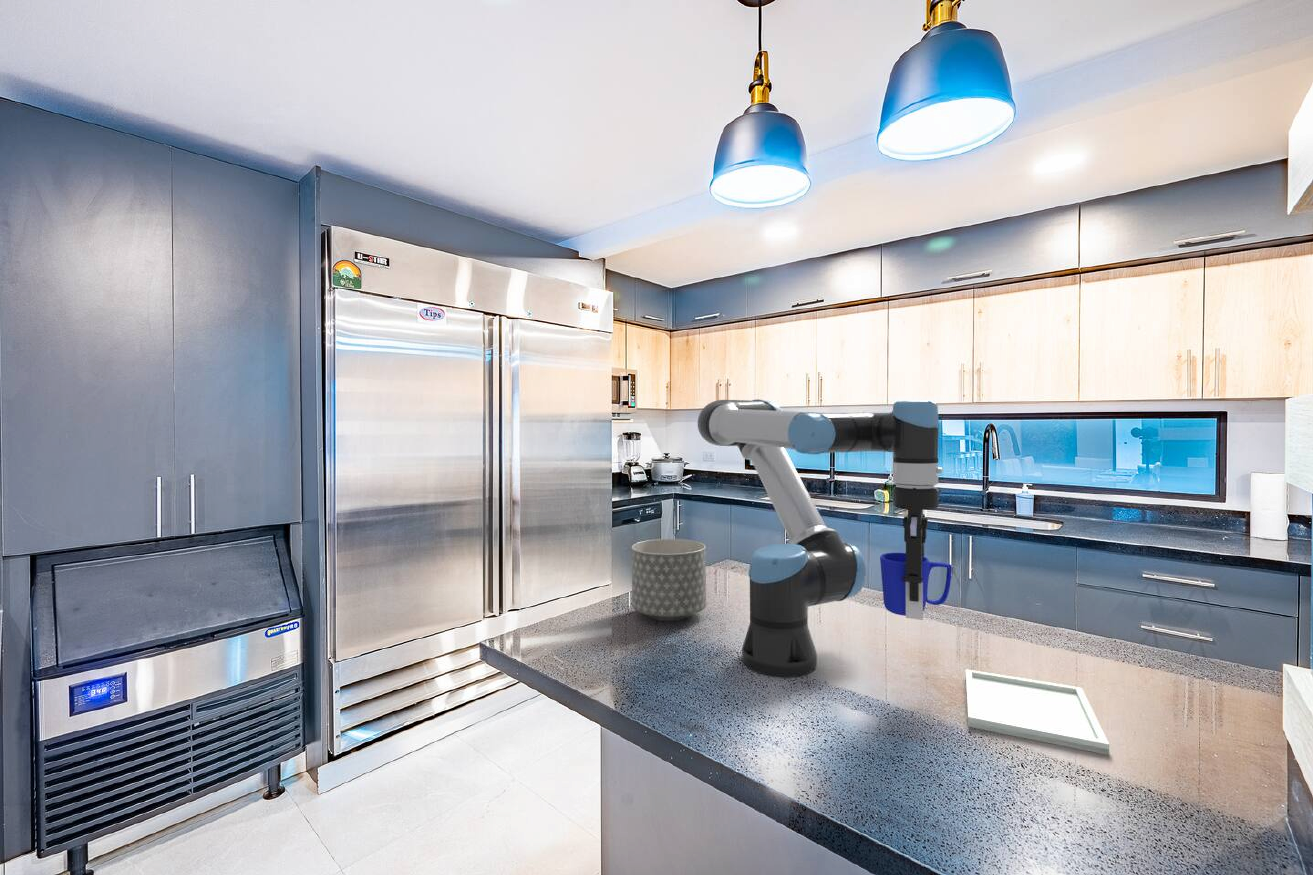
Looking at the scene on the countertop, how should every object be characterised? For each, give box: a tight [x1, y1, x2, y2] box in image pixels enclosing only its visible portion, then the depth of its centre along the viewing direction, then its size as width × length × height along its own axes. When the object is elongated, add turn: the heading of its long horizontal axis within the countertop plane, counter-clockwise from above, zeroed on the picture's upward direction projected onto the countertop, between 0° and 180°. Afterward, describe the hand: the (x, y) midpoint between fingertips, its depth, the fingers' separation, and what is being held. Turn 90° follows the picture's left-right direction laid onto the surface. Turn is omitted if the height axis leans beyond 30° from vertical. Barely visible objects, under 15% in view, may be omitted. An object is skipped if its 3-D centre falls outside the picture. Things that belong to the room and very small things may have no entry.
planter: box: [631, 538, 707, 622], centre depth 147 cm, size 19×19×18 cm
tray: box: [965, 668, 1110, 756], centre depth 96 cm, size 18×20×2 cm
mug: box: [879, 552, 953, 617], centre depth 104 cm, size 8×12×10 cm
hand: (915, 611), depth 104 cm, fingers closed on mug, 7 cm apart
